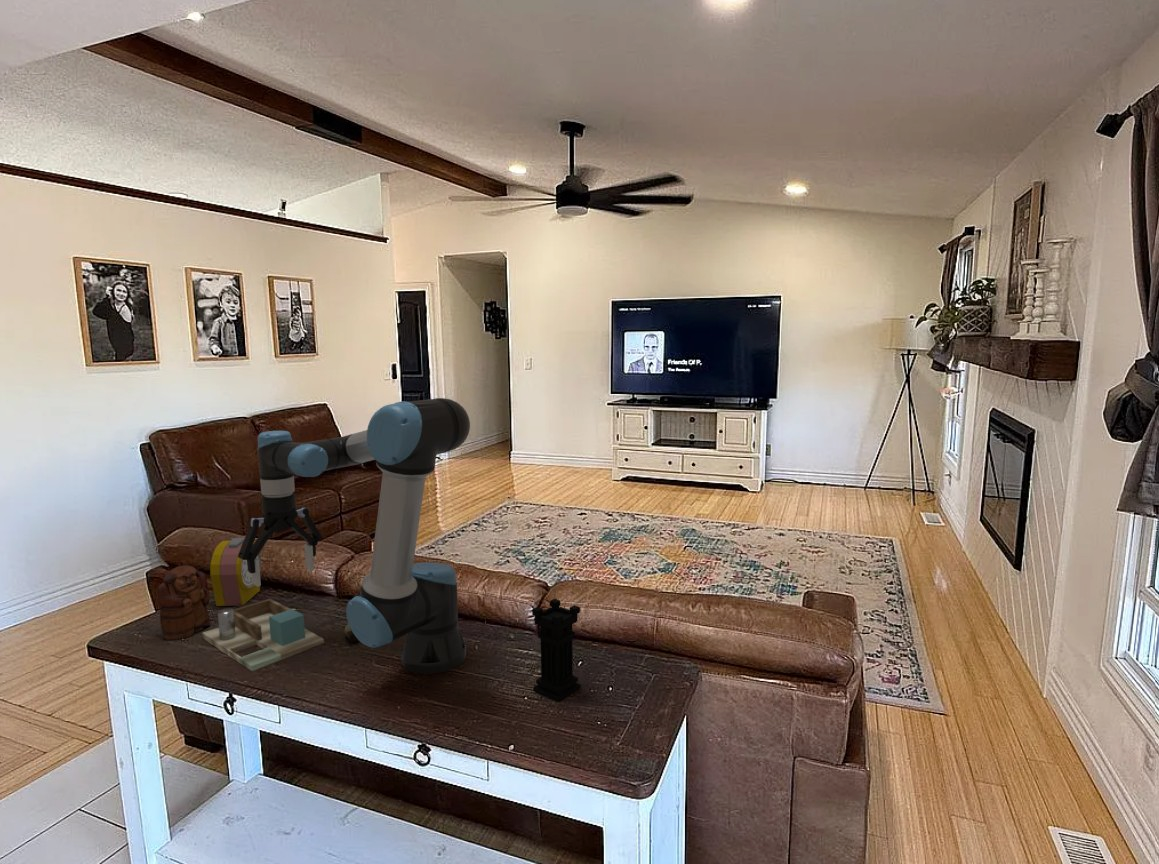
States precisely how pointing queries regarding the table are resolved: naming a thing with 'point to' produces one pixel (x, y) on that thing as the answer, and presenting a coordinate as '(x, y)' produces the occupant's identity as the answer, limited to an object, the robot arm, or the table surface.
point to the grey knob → (226, 624)
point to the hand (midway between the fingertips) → (284, 576)
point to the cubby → (253, 611)
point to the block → (287, 627)
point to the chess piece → (556, 650)
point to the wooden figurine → (183, 602)
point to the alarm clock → (231, 575)
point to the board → (260, 645)
